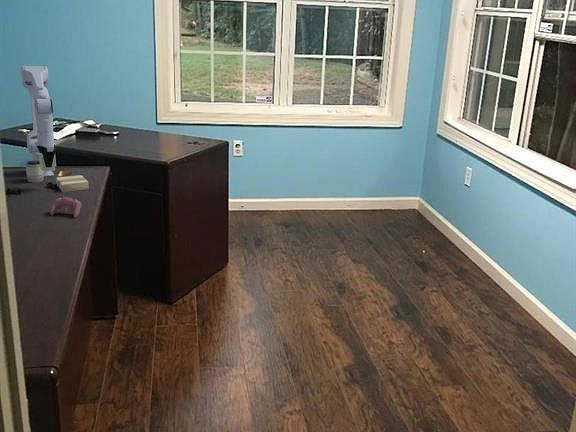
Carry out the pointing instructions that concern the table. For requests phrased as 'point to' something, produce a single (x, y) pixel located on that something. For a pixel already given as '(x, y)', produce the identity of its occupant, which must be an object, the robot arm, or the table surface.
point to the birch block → (72, 183)
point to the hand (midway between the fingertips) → (47, 165)
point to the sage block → (42, 164)
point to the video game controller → (66, 201)
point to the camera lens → (34, 171)
